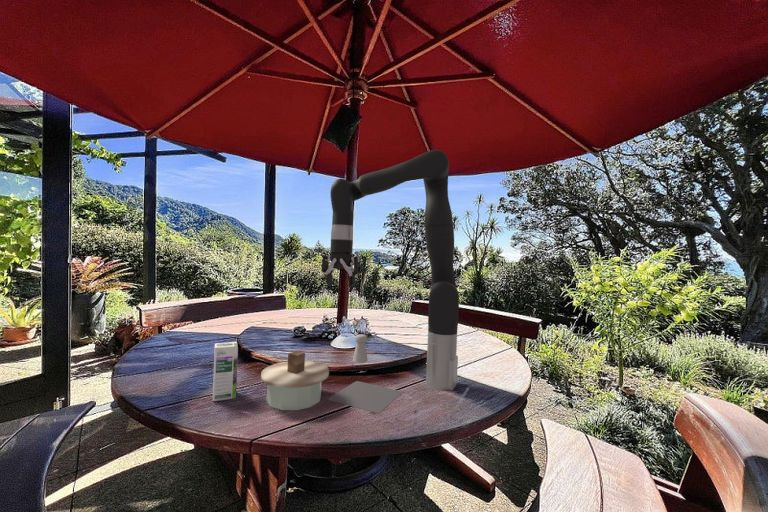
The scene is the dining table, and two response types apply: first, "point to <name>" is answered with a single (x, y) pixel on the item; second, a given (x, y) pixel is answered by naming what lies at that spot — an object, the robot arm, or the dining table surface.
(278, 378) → the lid
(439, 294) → the robot arm
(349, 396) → the mat
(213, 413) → the dining table surface
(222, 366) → the syrup box
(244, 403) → the dining table surface
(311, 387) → the bowl
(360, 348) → the salt shaker
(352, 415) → the dining table surface
